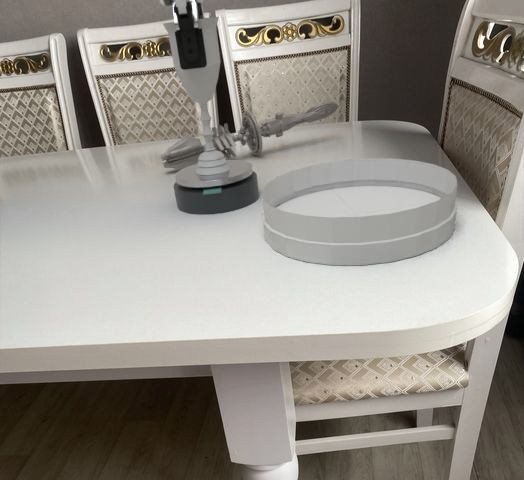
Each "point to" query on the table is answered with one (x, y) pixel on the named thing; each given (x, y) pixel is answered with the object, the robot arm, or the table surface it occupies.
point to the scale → (217, 197)
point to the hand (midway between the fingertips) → (197, 64)
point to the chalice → (202, 91)
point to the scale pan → (214, 175)
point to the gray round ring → (360, 211)
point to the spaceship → (242, 135)
